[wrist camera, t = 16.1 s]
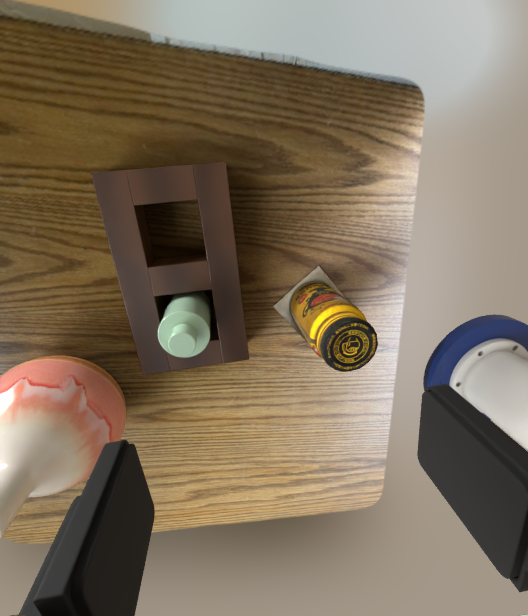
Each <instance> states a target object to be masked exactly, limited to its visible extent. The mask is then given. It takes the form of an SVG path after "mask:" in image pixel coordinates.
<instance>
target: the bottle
mask: <svg viewBox="0 0 528 616" xmlns="http://www.w3.org/2000/svg"><path fill="white" fill-rule="evenodd" d="M210 325H211V302H210V299H209V297H208V296H207V294H206V293H205V292H203V291H202V290H201V291H193V292H185V293H177V294H173V295H172V296H171V298H170V301H169V303H168V306H167V308H166V311H165V313H164V315H163V318H162V320H161V323H160V325H159V328H158V339H159V342H160V344H161V346H162V347H163V348H164V350H166V351H167V352H168V353H170V354H171V355H174V356H177V357H183V358H186V357H192V356H195V355H197V354H199V353H201V352H202V351H203V350H204V349H205V348H206V346H207V345H208V343H209V340H210Z"/></svg>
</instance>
